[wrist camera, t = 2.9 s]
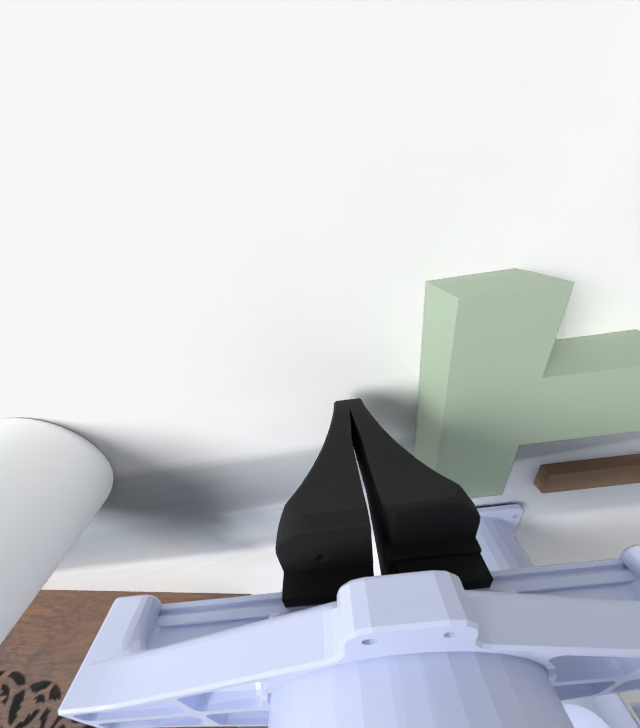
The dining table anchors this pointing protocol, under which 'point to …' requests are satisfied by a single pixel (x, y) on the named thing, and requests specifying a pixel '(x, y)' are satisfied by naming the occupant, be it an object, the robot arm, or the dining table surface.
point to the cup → (42, 505)
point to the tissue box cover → (58, 652)
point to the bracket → (588, 474)
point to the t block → (513, 376)
